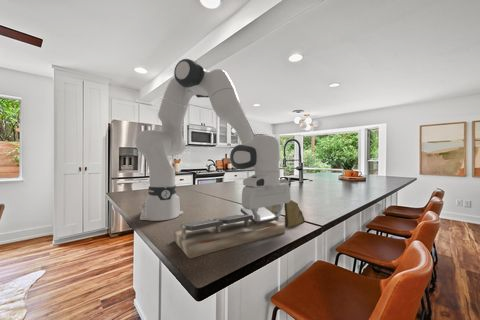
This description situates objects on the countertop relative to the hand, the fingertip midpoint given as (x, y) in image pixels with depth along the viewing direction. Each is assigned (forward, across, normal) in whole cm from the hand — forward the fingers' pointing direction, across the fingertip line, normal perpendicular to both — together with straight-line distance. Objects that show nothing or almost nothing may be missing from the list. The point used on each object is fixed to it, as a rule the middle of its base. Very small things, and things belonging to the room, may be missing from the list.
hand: (267, 218), depth 73 cm
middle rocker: (-1, +12, -5) cm, 13 cm away
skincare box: (+6, -14, -13) cm, 20 cm away
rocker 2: (0, 0, -5) cm, 5 cm away
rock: (+6, -18, -3) cm, 19 cm away
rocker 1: (-1, +23, -5) cm, 24 cm away
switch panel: (+5, +12, -5) cm, 14 cm away
